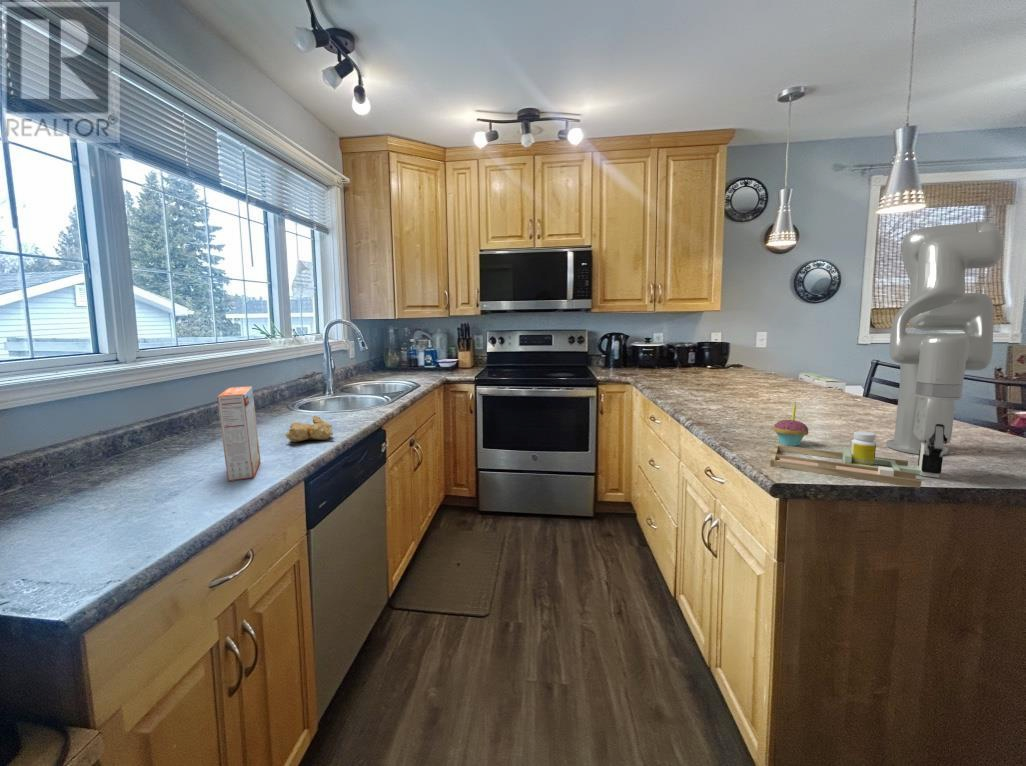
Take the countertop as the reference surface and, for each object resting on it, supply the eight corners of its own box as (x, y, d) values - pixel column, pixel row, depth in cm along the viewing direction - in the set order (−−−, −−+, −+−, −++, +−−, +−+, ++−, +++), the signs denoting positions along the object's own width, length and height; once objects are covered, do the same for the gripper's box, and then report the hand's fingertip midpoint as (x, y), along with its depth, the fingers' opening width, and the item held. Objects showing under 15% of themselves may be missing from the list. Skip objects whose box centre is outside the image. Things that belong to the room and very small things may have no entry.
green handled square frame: (842, 458, 114) (844, 432, 113) (932, 470, 105) (936, 441, 104) (844, 468, 107) (846, 439, 106) (941, 481, 98) (945, 450, 97)
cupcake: (778, 438, 135) (781, 399, 133) (811, 444, 128) (814, 403, 127) (768, 444, 129) (771, 403, 127) (802, 450, 123) (805, 407, 121)
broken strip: (779, 461, 113) (780, 452, 113) (890, 477, 101) (891, 466, 101) (778, 466, 110) (779, 456, 109) (893, 482, 98) (894, 472, 98)
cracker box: (235, 465, 117) (227, 387, 115) (261, 462, 120) (254, 385, 117) (225, 482, 105) (215, 395, 102) (254, 478, 107) (245, 393, 104)
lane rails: (774, 449, 123) (775, 444, 123) (907, 466, 108) (907, 460, 108) (770, 466, 110) (770, 460, 110) (920, 487, 95) (921, 481, 94)
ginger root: (328, 441, 135) (320, 416, 134) (277, 455, 135) (269, 430, 134) (345, 430, 150) (338, 408, 149) (300, 443, 150) (293, 420, 149)
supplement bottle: (878, 470, 106) (881, 436, 105) (855, 469, 107) (858, 435, 106) (866, 464, 110) (870, 431, 109) (845, 463, 111) (848, 430, 110)
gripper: (909, 385, 108) (901, 458, 111) (923, 394, 94) (913, 477, 97) (951, 387, 104) (942, 463, 106) (972, 397, 90) (961, 484, 93)
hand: (929, 469), depth 102 cm, fingers closed on green handled square frame, 3 cm apart
